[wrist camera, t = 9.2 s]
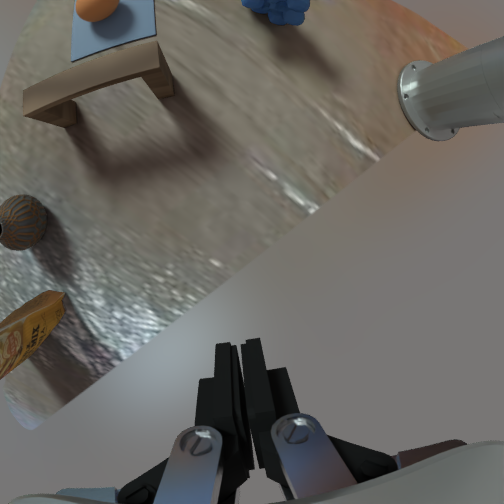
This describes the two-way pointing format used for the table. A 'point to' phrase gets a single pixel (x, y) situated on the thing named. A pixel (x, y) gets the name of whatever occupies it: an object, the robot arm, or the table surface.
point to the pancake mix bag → (28, 328)
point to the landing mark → (113, 28)
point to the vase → (21, 222)
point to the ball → (95, 9)
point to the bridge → (96, 82)
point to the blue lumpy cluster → (280, 10)
